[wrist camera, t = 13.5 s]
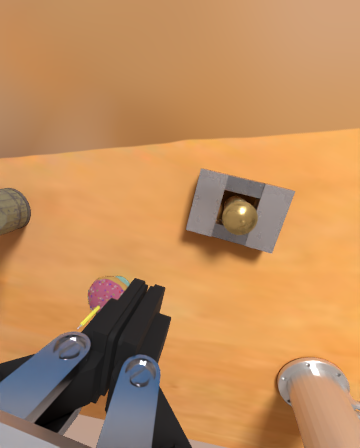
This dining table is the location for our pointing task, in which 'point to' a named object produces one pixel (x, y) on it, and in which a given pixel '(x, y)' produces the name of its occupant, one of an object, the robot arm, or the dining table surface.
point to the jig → (264, 205)
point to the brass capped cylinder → (239, 216)
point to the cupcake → (104, 293)
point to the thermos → (13, 210)
